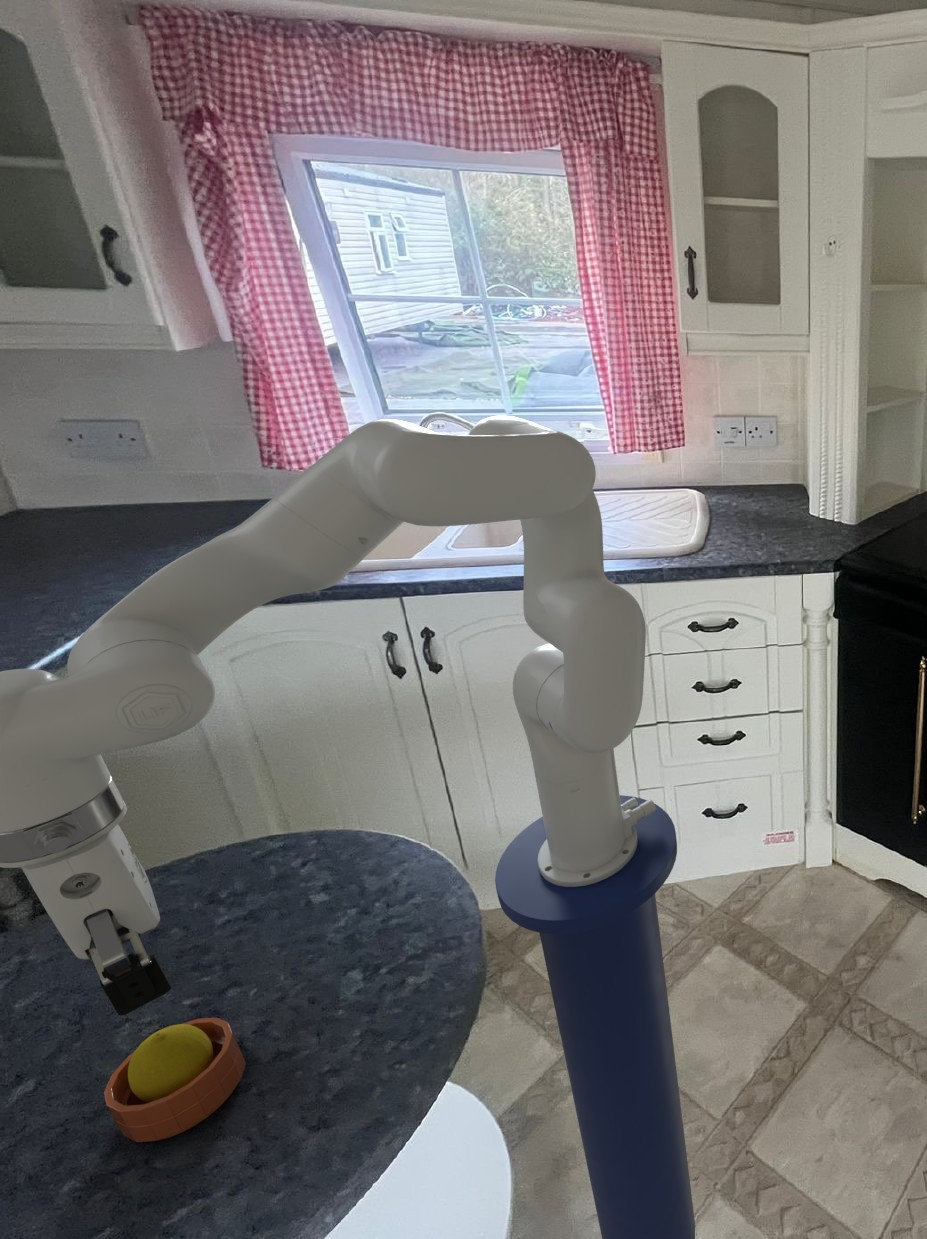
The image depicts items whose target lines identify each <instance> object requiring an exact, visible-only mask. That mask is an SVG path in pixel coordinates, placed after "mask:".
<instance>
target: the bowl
mask: <svg viewBox="0 0 927 1239" xmlns="http://www.w3.org/2000/svg"><path fill="white" fill-rule="evenodd" d="M182 1024H188V1025H192V1026H195V1027H197V1028H199V1029H201V1030H202V1031H203V1032H204V1033H205V1034H206V1035H207V1036H208V1038H209V1039H210V1041H211V1043H212V1046H213V1062H212V1063H211V1065H210V1066H209V1067H208V1068H207V1069H206V1070H204V1071H203V1072H202V1073H201V1074H200V1075H199V1076H197V1077H196V1078H195V1079H194V1080H193V1081H191V1082H190V1083H189V1084H187V1085H185V1086H184V1087H182V1088H180V1089H179V1090H177V1091H175V1092H173V1093H172V1094H170V1095H168V1096H166V1097H164V1098H161V1099H158V1100H155V1101H152V1102H150V1103H147V1102H144V1101H142V1100H141V1099H139V1098H138V1097H137V1096H136V1095H135V1094H134V1093H133V1092H132V1090H131V1088H130V1084H129V1080H128V1067H129V1063H130V1059H131V1057H132V1055H133V1054H134V1052H135V1050H134V1051H133V1052H132V1053H130V1054H129V1055H128V1056H127V1057H126V1058H125V1059H124V1060H123V1061H122V1063H120V1065H119V1066H118V1067H117V1068H116V1069H115V1070H114V1071H113V1072H112V1074H111V1076H110V1078H109V1080H108V1082H107V1085H106V1087H105V1089H104V1092H103V1096H104V1100H105V1105H106V1107H107V1109H108V1110H109V1113H110V1114H111V1116H112V1118H113V1119H114V1121H115V1123H116V1124H117V1126H118V1128H119V1130H120V1132H121V1133H122V1135H123V1136H124V1137H126V1138H128V1139H129V1140H131V1141H133V1142H136V1143H145V1142H146V1143H147V1142H157V1141H162V1140H165V1139H166V1140H167V1139H169V1138H171V1137H175V1136H178V1135H180V1134H182V1133H184V1132H186V1131H188V1130H190V1129H191V1128H193V1127H195V1126H197V1125H198V1124H200V1123H202V1121H204V1120H206V1119H207V1118H208V1117H209V1116H211V1115H212V1114H213V1113H215V1112H216V1111H217V1110H218V1109H219V1108H220V1107H221V1106H222V1105H223V1104H224V1103H225V1102H226V1101H227V1100H228V1099H229V1097H230V1096H231V1095H232V1094H233V1092H234V1090H236V1087H237V1085H238V1084H239V1083H240V1082H241V1080H242V1078H243V1075H244V1071H245V1067H246V1064H247V1062H246V1059H245V1057H244V1054H243V1052H242V1049H241V1046H240V1045H239V1043H238V1040H237V1038H236V1036H235V1034H234V1032H233V1029H232V1027H231V1025H230V1023H229V1022H227V1021H226V1020H223V1019H221V1018H219V1017H203V1018H196V1019H195V1018H194V1019H192V1020H189V1021H186V1022H182Z"/></svg>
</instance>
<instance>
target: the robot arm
mask: <svg viewBox="0 0 927 1239" xmlns="http://www.w3.org/2000/svg"><path fill="white" fill-rule="evenodd" d="M596 472H597V471H596V464H595V462H594V458H593V457H592V456H591V453H590V451H589V450H588V449H587V448H586V447H585V445H583V444H582V442H580V441H579V440H577V439H576V438H574V437H572V436H571V435H568V434H567V433H564V432H562V431H559V430H556V429H553V428H549V427H546V426H544V425H541V424H540V423H536V422H534V421H531V420H527V419H525V418H521V417H516V416H512V415H494V416H489V417H486V418H483V419H481V420H480V421H478V422H476V423H475V425H474V426H473V427H472V428H471V429H470V431H469V433H468V435H466V434H464V435H463V434H446V433H437V432H434V431H433V430H430V429H428V428H425V427H422V426H420V425H417V424H415V423H411V422H409V421H404V420H399V419H393V418H392V419H391V418H382V419H378V420H377V419H376V420H373V421H370V422H367V423H365V424H363V425H362V426H360V427H357V428H356V429H355V430H353V431H352V432H351V433H349V434H348V435H347V436H345V437H344V438H342V440H340V441H339V442H338V443H337V444H336V445H334V446H333V447H332V448H331V449H330V450H328V451H327V452H326V453H325V454H324V455H323V456H322V457H320V458H319V459H318V460H316V461H315V462H314V463H313V464H311V466H309V467H308V468H307V469H306V470H305V471H303V472H302V473H301V474H300V475H298V477H296V478H295V479H293V481H291V482H290V483H289V484H288V485H287V486H285V488H283V489H282V490H280V492H278V493H277V494H276V495H274V496H273V497H272V498H271V499H270V500H269V501H268V502H266V503H265V504H264V505H263V506H260V508H258V509H257V510H256V511H255V512H254V513H253V514H251V515H250V516H249V517H247V519H245V520H244V521H243V522H242V523H240V524H238V525H237V526H235V527H233V528H232V529H230V530H227V531H225V532H223V533H221V534H219V535H217V536H215V537H213V538H212V539H211V540H209V541H207V542H205V543H204V544H202V545H199V547H198V546H197V547H196V548H195V549H193V550H191V551H188V552H186V553H185V554H183V555H182V556H179V557H177V558H176V559H174V560H173V561H171V562H169V563H168V564H167V565H165V566H163V567H162V568H160V569H159V570H157V571H156V572H155V573H153V574H152V575H150V576H149V577H148V578H147V579H145V580H144V581H143V582H141V584H139V585H138V586H137V587H135V588H134V589H133V590H132V591H130V592H128V594H127V595H126V596H124V597H123V598H122V599H120V601H118V602H117V603H116V604H115V605H114V606H112V607H111V608H110V609H108V610H107V611H106V612H104V614H102V615H101V616H100V617H99V618H98V619H97V620H96V621H94V622H93V623H92V624H91V625H90V626H89V627H88V628H87V629H86V630H85V631H84V632H83V633H82V634H81V635H80V637H79V638H78V639H77V640H76V642H75V644H74V645H73V647H72V648H71V649H70V652H69V656H68V658H67V665H66V668H67V675H68V676H67V677H60V676H58V675H56V674H54V673H53V672H49V671H46V670H44V669H37V668H14V669H6V670H2V671H0V868H3V869H16V868H21V870H22V871H23V873H24V875H25V876H26V878H27V881H28V882H29V885H30V886H31V887H32V889H33V891H34V893H35V894H36V896H37V898H38V900H39V901H40V903H41V904H42V906H43V908H44V910H45V911H46V914H48V917H49V918H50V920H51V921H52V923H53V924H54V926H55V928H56V930H57V931H58V933H59V934H60V936H61V937H62V939H63V940H64V942H65V943H66V945H67V946H68V947H69V949H70V950H71V952H72V953H73V954H74V956H75V957H76V958H77V959H79V960H92V962H93V965H94V967H95V969H96V972H97V974H98V977H99V978H100V980H99V985H100V986H101V988H102V989H103V991H104V993H105V995H106V997H107V998H108V1000H109V1002H110V1003H111V1005H112V1006H113V1008H114V1010H115V1011H116V1014H117V1015H118V1016H125V1015H127V1014H130V1013H132V1012H134V1011H135V1010H137V1009H139V1008H141V1007H143V1006H145V1005H147V1004H148V1003H150V1002H152V1001H154V1000H157V999H159V998H160V997H162V996H164V995H166V994H167V993H169V992H170V991H171V989H172V987H171V984H170V981H169V980H168V978H167V976H166V974H165V972H164V970H163V968H162V967H161V965H160V963H159V962H158V959H157V957H156V956H155V954H154V953H153V954H151V955H149V953H148V950H147V948H146V946H145V944H144V941H143V939H142V937H141V935H142V934H144V933H147V932H149V931H150V930H154V929H156V928H157V927H158V926H159V923H160V922H161V916H160V912H159V908H158V905H157V902H156V899H155V895H154V892H153V888H152V886H151V882H150V880H149V877H148V875H147V873H146V870H145V869H144V867H143V866H142V864H141V862H140V861H139V859H138V857H137V855H136V853H135V852H134V851H133V848H132V846H131V844H130V843H129V841H128V839H127V837H126V835H125V833H124V832H123V830H122V828H121V826H120V825H119V824H120V823H121V822H122V821H123V819H124V818H125V817H126V815H127V812H128V806H127V804H126V802H125V800H124V799H123V798H124V797H122V794H121V792H120V790H119V789H118V787H117V785H116V782H115V781H114V778H113V776H112V775H111V772H110V770H109V768H108V766H107V764H106V763H105V761H104V758H103V756H102V755H103V754H108V753H112V752H116V751H123V750H127V749H131V748H137V747H142V746H147V745H150V744H154V743H158V742H162V741H165V740H168V739H171V738H174V737H176V736H178V735H181V734H182V733H185V732H187V731H189V730H190V729H192V728H194V727H195V726H196V725H198V724H199V723H201V722H202V721H203V720H204V719H205V717H207V715H208V714H209V713H210V711H211V709H212V708H213V705H214V702H215V698H216V689H215V684H214V682H213V679H212V677H211V675H210V673H209V671H208V670H207V669H206V667H205V666H204V664H203V663H202V661H201V659H200V657H199V655H200V654H201V653H202V652H203V651H204V650H205V649H206V648H207V647H208V646H209V645H211V644H212V642H214V641H215V640H216V639H217V638H219V636H221V635H222V634H223V633H224V632H225V631H227V629H229V628H230V627H231V626H232V625H234V624H235V623H236V622H237V621H239V620H240V619H242V618H243V617H245V616H246V615H248V614H249V613H250V612H252V611H254V610H256V609H257V608H259V607H261V606H263V605H265V604H267V603H270V602H272V601H274V600H277V599H281V598H284V597H285V598H286V597H288V596H289V597H290V596H292V595H293V596H294V595H300V594H309V593H313V592H318V591H322V590H325V589H329V588H332V587H333V586H335V585H337V584H339V583H340V582H341V581H342V580H343V579H344V578H345V577H346V576H347V575H348V574H350V572H352V570H353V569H355V568H356V567H357V566H358V565H359V564H360V563H362V561H363V560H364V559H365V558H366V557H367V556H368V555H370V553H372V552H373V551H374V550H375V549H376V548H377V547H379V545H380V544H382V543H383V542H384V541H385V540H386V539H387V538H388V537H389V536H390V535H391V534H392V533H393V532H395V531H396V530H397V529H398V528H399V527H400V526H401V525H403V524H404V523H408V524H411V525H415V526H421V527H423V526H424V527H457V526H471V525H480V524H481V525H482V524H491V523H498V522H509V521H517V520H518V521H520V525H521V531H522V532H521V533H522V542H523V543H522V544H523V595H522V597H523V598H522V599H523V600H522V605H523V606H522V607H523V616H524V620H525V622H526V624H527V626H528V627H529V628H530V629H531V631H532V632H533V633H534V634H536V636H538V637H539V638H541V639H542V640H544V641H545V642H547V643H545V644H541V645H539V646H537V647H535V648H533V649H532V650H531V651H529V652H527V654H526V655H525V656H523V658H522V659H521V660H520V662H519V663H518V665H517V666H516V669H515V672H514V675H513V679H512V680H513V681H512V695H513V700H514V704H515V707H516V711H517V714H518V716H519V719H520V722H521V725H522V727H523V730H524V733H525V736H526V739H527V743H528V748H529V751H530V756H531V761H532V767H533V771H534V777H535V783H536V788H537V794H538V799H539V804H540V810H541V815H542V817H543V820H544V826H545V831H546V836H547V839H546V841H545V842H544V843H543V845H542V846H541V848H540V851H539V853H538V860H537V861H538V867H539V870H540V873H541V875H542V876H543V877H544V879H546V880H547V881H549V882H550V883H553V884H555V885H558V886H564V887H579V886H586V885H590V884H593V883H597V882H599V881H602V880H604V879H606V878H608V877H610V876H612V875H613V874H615V873H616V872H618V871H619V870H620V869H622V868H623V867H624V866H625V865H626V864H627V863H628V862H629V861H630V859H631V858H632V857H633V855H634V853H635V851H636V848H637V844H638V839H637V832H636V829H635V827H634V826H635V825H637V821H638V820H640V819H642V818H645V817H647V816H648V815H650V814H652V813H653V812H655V811H656V806H655V804H656V803H655V802H654V801H653V800H652V799H651V798H650V799H647V800H648V801H646V802H644V803H642V804H641V805H639V806H638V802H637V800H636V799H635V798H634V797H635V796H633V798H632V799H630V800H628V801H626V802H625V803H624V804H622V805H621V802H620V787H619V779H618V773H617V772H618V771H617V766H616V758H615V750H614V749H615V748H616V747H618V746H620V745H621V744H622V743H624V742H625V741H626V739H627V738H628V737H629V736H630V735H631V734H632V732H633V730H634V729H635V727H636V725H637V722H638V720H639V717H640V714H641V710H642V706H643V696H644V681H645V664H646V663H645V661H646V644H647V642H646V639H647V638H646V636H647V629H646V628H647V627H646V621H645V616H644V613H643V610H642V608H641V605H640V604H639V602H638V601H637V599H636V598H635V597H634V596H633V594H632V593H630V592H629V591H628V590H626V589H625V588H623V587H622V586H620V585H619V584H617V583H615V582H612V581H611V580H609V579H608V578H607V576H606V574H605V566H604V565H605V564H604V536H603V535H604V534H603V531H604V530H603V522H602V521H603V520H602V514H601V510H600V505H599V501H598V499H597V497H596V494H595V492H594V485H595V483H596V477H597V476H596V475H597V473H596ZM636 806H638V807H637V808H635V807H636ZM633 808H635V809H633ZM631 809H633V810H631ZM140 934H141V935H140ZM129 941H130V943H131V945H132V948H133V950H134V952H135V953H134V952H131V953H130V954H128V952H127V950H126V949H125V947H124V945H123V944H125V943H128V942H129Z"/></svg>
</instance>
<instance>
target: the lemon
mask: <svg viewBox="0 0 927 1239" xmlns="http://www.w3.org/2000/svg"><path fill="white" fill-rule="evenodd" d="M134 1051H135V1052H134ZM134 1051H133V1052H134V1054H133V1055H132V1057H131V1059H130V1063H129V1067H128V1080H129V1084H130V1088H131V1090H132V1092H133V1093H134V1094H135V1095H136V1096H137V1097H138V1098H139V1099H141V1100H142V1101H144V1102H147V1103H150V1102H152V1101H155V1100H158V1099H161V1098H164V1097H166V1096H168V1095H170V1094H172V1093H173V1092H175V1091H177V1090H179V1089H180V1088H182V1087H184V1086H185V1085H187V1084H189V1083H190V1082H191V1081H193V1080H194V1079H195V1078H196V1077H197V1076H199V1075H200V1074H201V1073H202V1072H203V1071H204V1070H206V1069H207V1068H208V1067H209V1066H210V1065H211V1063H212V1062H213V1046H212V1043H211V1041H210V1039H209V1038H208V1036H207V1035H206V1034H205V1033H204V1032H203V1031H202V1030H201V1029H199V1028H197V1027H195V1026H192V1025H188V1024H183V1023H180V1024H173V1025H169V1026H166V1027H163V1028H161V1029H159V1030H157V1031H155V1032H153V1033H152V1034H151V1035H149V1036H147V1038H146V1039H145V1040H144V1041H142V1042H141V1043H140V1045H139V1046H138V1047H137V1048H136V1049H135V1050H134Z"/></svg>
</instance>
